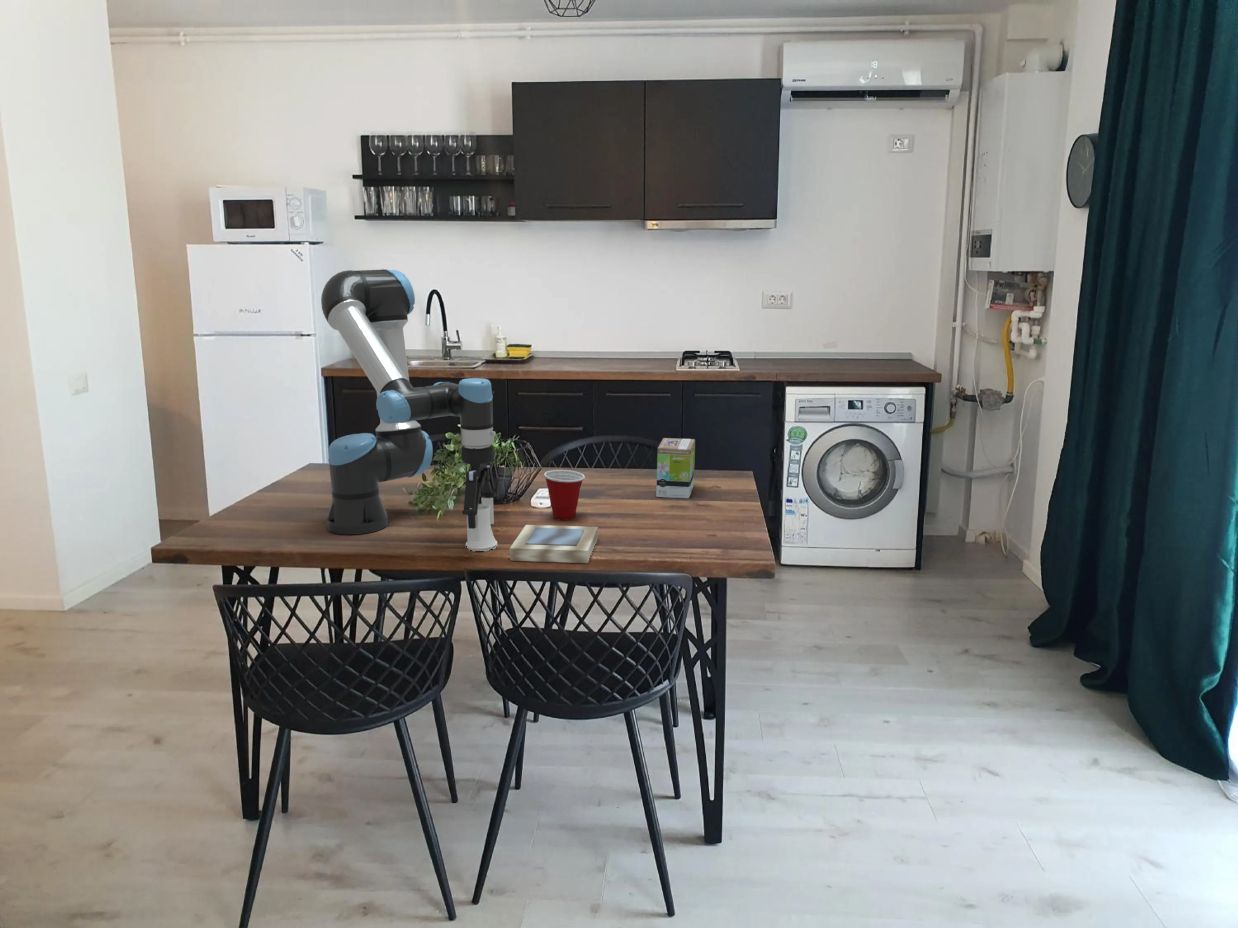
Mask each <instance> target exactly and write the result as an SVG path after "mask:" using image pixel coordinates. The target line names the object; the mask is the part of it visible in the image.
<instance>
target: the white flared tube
mask: <svg viewBox="0 0 1238 928" xmlns="http://www.w3.org/2000/svg"><path fill="white" fill-rule="evenodd" d="M470 509H472V508H470ZM477 513H478V514H479V531H480V541H468V540H467V541H466V542H465V547H466V546H467V548H468V549H470V550H472V549H473V550H474V551H473V550H472V551H471V552H475V551H476V550H477V551H479V550H480V551H484V552H490V551H491V550H490V549H493V550H495V549H496V546H497V547H498V541H497V540H496V538H495V536H494V533H493V530H492V526H491V525H492V524H490V506H489V505H486V504H482V503H479V504H478V511H477ZM494 546H495V547H494ZM470 550H469V551H470ZM489 550H490V551H489Z"/></svg>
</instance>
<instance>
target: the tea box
mask: <svg viewBox="0 0 1238 928" xmlns="http://www.w3.org/2000/svg"><path fill="white" fill-rule="evenodd" d="M656 454H657V457H656V458H657V459H656V460H657V461H656V485H655V486H656V492H655V495H656V497H657V498H670V499H671V498H672V499H690V496H691V494H692V491H693V488H694V485H695V461H696V459H695V457H696V455H695V454H696V439H694V438H676V437H675V438H673V437H672V438H671V437H663V438H662V440H661V442H660V443H659V445H658V447H657V453H656Z"/></svg>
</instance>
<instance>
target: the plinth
mask: <svg viewBox="0 0 1238 928" xmlns="http://www.w3.org/2000/svg"><path fill="white" fill-rule="evenodd" d="M597 539H598V540H599V527H598V526H584V525H583V526H580V525H550V524H549V525H548V524H547V525H545V524H525V525H524V527H523V528H522V530H521V531H520V533H519V534H518V536H517V537H516V539H515V540H514V541H513V543H512V544H511V546H510V547H509V560H510V561H513V562H514V561H515V562H516V561H517V562H539V563H540V562H541V563H542V562H544V563H545V562H546V563H569V564H571V563H573V564H588V563H589V562H590V559H591V557H590V555H591V556H592V554H593V552H592V551H594V550H593V549H594V548H595V547H596V545H595V544H597V542H598V540H597ZM594 546H595V547H594ZM591 553H592V554H591ZM589 558H590V559H589Z"/></svg>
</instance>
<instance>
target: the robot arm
mask: <svg viewBox="0 0 1238 928" xmlns="http://www.w3.org/2000/svg"><path fill="white" fill-rule="evenodd" d="M320 298H321V299H320V300H321V301H320V302H321V303H320V304H321V310H322V314H323V316H324V318H325V320H326V321H327V323H328V324H329V325H328V326H330V328H331V329H333V330H335V331H338V332H339V334H340V336H341V337H342V339H343V340H344V343H345V344H346V345H347V347H348V348H349V350H350V351H351V353H352V354H353V357H355V360H356V361H357V362H358V364H359V366H360V367H361V369H362V371H363V372H364V374H365V375H366V377H367V378H368V380H369V381H370V383H371V385H372V387H373V388H374V389H375V391H376V397H377V398H376V403H375V405H376V410H377V412H378V417H379V419H380V421H379V425H377V427H375V435H374V434H373V433H369V432H361V433H352V434H348V435H344V436H341V437H338V438H337V439H334V440H333V441H332V442H331V443H330V444H329V447H328V464H329V474H330V475H329V476H330V485H331V498H332V499H331V503H330V507H329V510H328V515H327V519H326V527H327V530H328V531H329V532H331V533H334V534H338V535H361V534H362V535H364V534H369V533H374V532H377V531H380V530H383V529H385V528H386V527H387V526H388V525H389V517H388V513H387V510H386V507H385V506H384V504H383V501H382V499H381V496H380V485H379V484H380V483H383V482H390V481H394V480H395V481H396V480H398V479H404V478H413V477H414V476H418V475H421V474H424V473H425V472H427V470H428V469H429V467H430V466H431V463H432V461H433V443H432V440H431V439H430V436H429V434H428V433H427V432H426V431H424V430H422V429H421V428H422V426H421V424H420V423H419V422H418V421H420V420H426V419H427V420H428V419H434V418H441V417H442V418H443V417H448V416H451V417H456V418H457V417H458V418H459V421H460V444H461V445H462V447H461V461H462V463H464V464H467V465H470V467H469V470H467V471H465V489H464V490H465V491H464V500H463V502H464V503H463V510H462V515H466V530H467V531H466V533H467V534H466V535H467V541H480V531H479V514H478V513H477V511H478V504H480V500H481V504H486V505H489V506H490V525H494V523H495V517H494V515H495V513H494V498H496V497H497V492H496V487H495V482H494V476H493V471H492V462H494V461H495V447H494V445H493V444H494V441H495V440H494V436H496V433H497V432H496V431H495V430H494V416H493V415H494V412H493V411H494V408H493V407H494V405H493V401H494V400H493V390H492V383H491V381H490V380H489V379H487V378H484V377H483V378H480V377H472V378H471V377H469V378H464V379H461V380H460V381H459V382H458V383H453V382H451V381H439V382H436V383H434V384H433V385H427V386H419V387H413V385H412V384H411V382H410V376H409V369H408V358H407V351H406V344H405V343H406V342H405V336H404V334H405V333H404V326H406V324H407V323H408V322H409V320H408V315H409V314H411V313H412V312H413V311H414V308H415V307H414V306H415V304H416V302H415V301H416V297H415V292H414V289H413V286H412V283H411V281H410V280H409V278H408V277H407V276H406V275H405V274H404V272H402V271H399V270H396V269H384V268H382V269H363V270H350V269H349V270H343V271H340V272H337V273H335V274H334V275H332V276H331V278H329V280H327V281H326V284H325V285H324V288H323V290H322V293H321V297H320ZM493 430H494V431H493ZM481 494H482V497H481ZM480 497H481V499H480ZM470 508H472V509H470Z"/></svg>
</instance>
